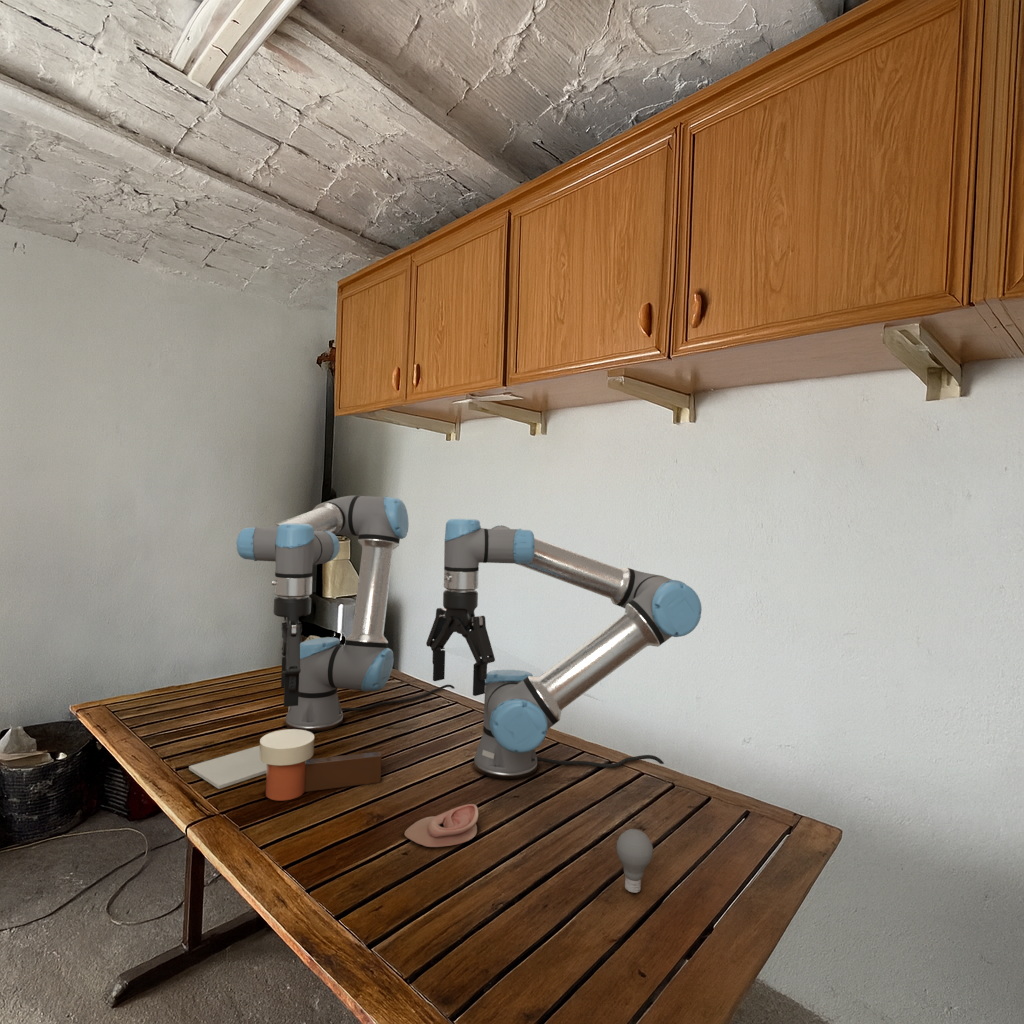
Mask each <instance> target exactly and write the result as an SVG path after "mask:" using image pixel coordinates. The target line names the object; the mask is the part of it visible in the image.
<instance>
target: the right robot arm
mask: <svg viewBox="0 0 1024 1024" xmlns="http://www.w3.org/2000/svg"><path fill="white" fill-rule="evenodd" d="M443 554H444V555H443V556H444V560H443V561H444V563H443V566H444V567H443V588H444V589H445V590H444V591H443V592H442V593H443V594H442V606H443V607H437V608H436V610H435V618H434V620H433V623H432V626H431V629H430V631H429V634H428V636H427V640H426V643H425V645H426V647H430V649H431V651H432V681H433V682H438V681H442V680H445V677H446V675H445V671H446V650H445V646H446V644H447V643H448V641H449V640H450V638H451V636H452V635H453V634H454V633H457V634H460V635H461V636H462V637H463V638H464V639H465V641H466V643H467V645H468V647H469V650H470V652H471V654H472V656H473V659H474V661H475V663H473V671H472V672H473V673H472V679H473V680H472V681H473V682H472V696H474V697H477V696H481V695H484V699H483V700H484V702H483V703H484V704H483V723H482V725H483V727H482V734H481V738H480V740H479V743H478V745H477V749H476V751H475V753H474V759H473V762H474V763H473V766H474V767H473V768H475V770H476V771H477V772H479V773H480V774H481V775H484V776H486V777H490V778H493V779H498V780H499V779H500V780H515V779H516V780H518V779H523V778H526V777H529V776H531V775H533V774H535V773H536V771H537V769H538V762H540V763H547V764H553V765H560V766H574V765H575V766H590V767H597V768H604V769H611V768H612V769H613V768H618V767H621V766H623V765H624V764H626V763H628V762H634V761H640V760H654V761H656V762H657V763H659V764H660V765H664V764H665V763H664V760H662V759H661V758H660V757H658V756H656V755H653V754H642V755H636V756H629V757H626V758H623V759H620V761H618V762H614V763H604V762H603V763H602V762H596V761H588V760H559V759H558V760H557V759H552V758H546V757H539V756H537V753H536V749H537V748H539V746H541V744H542V743H543V742H544V741H545V738H546V736H547V733H548V730H549V729H550V728H552V727H553V726H554V725H556V724H557V723H558V722H560V720H561V717H562V716H561V715H562V712H563V710H564V709H565V708H566V707H568V706H569V705H571V704H572V703H573V702H574V701H576V700H577V699H578V698H580V697H581V696H583V695H584V694H586V692H588V691H589V690H590V689H592V688H593V687H595V686H596V685H597V684H598V683H600V682H601V681H602V680H604V679H605V678H607V677H608V676H609V675H611V674H612V673H613V672H615V671H616V670H617V669H619V667H621V666H622V665H624V664H625V663H626V662H628V661H629V660H631V659H632V658H633V657H635V656H636V655H637V654H638V653H640V652H641V651H643V650H644V649H645V648H647V647H650V646H651V647H660V646H661V645H663V644H664V643H666V642H667V641H668V640H670V639H671V638H672V637H673V638H679V637H685V636H687V635H689V634H691V633H692V632H693V631H694V630H695V629H696V628H697V626H698V625H699V623H700V620H701V618H702V610H703V609H702V602H701V599H700V597H699V595H698V594H697V592H696V591H695V590H694V589H693V588H692V587H691V586H690V585H688V584H687V583H685V582H684V581H681V580H678V579H677V580H676V579H672V578H669V577H666V576H664V575H660V574H655V573H649V572H644V571H640V570H636V569H632V568H630V567H627V566H625V567H622V568H618V567H615V566H613V565H610V564H607V563H604V562H601V561H600V560H598V559H597V560H596V559H593V558H591V557H588V556H585V555H583V554H580V553H578V552H576V551H575V552H574V551H572V550H569V549H566V548H564V547H561V546H559V545H556V544H554V543H551V542H547V541H544V540H542V539H540V538H536V537H535V535H534V533H533V531H532V530H531V529H522V528H510V527H508V526H505V525H495V526H493V527H492V528H485V527H482V526H481V522H480V520H479V519H474V518H450V519H448V520H447V521H446V522H445V530H444V552H443ZM480 563H482V564H487V563H488V564H492V563H493V564H515V565H518V566H520V567H523V568H526V569H529V570H531V571H534V572H537V573H540V574H543V575H545V576H547V577H550V578H553V579H556V580H558V581H562V582H564V583H567V584H569V585H573V586H575V587H577V588H581V589H583V590H585V591H589V592H592V593H594V594H597V595H600V596H602V597H605V598H608V599H609V600H610V601H611V603H612V604H613V605H615V606H617V607H620V608H623V609H624V613H623V614H622V615H621V616H619V617H618V618H617V619H615V620H614V621H613V622H612V623H610V624H608V625H607V626H606V627H605V628H603V629H602V630H600V632H598V633H596V634H595V635H594V636H592V637H591V638H590V639H589V640H587V641H586V642H584V643H583V644H582V645H581V646H579V647H578V648H576V649H575V650H574V651H573V652H571V653H570V654H568V655H567V656H565V657H564V658H562V660H560V661H558V662H557V663H556V664H555V665H553V666H552V667H550V668H549V669H548V670H546V671H545V672H544V673H543V674H541V675H540V676H534V675H533V674H532V672H529V671H525V670H521V669H520V670H519V669H495V670H490V671H488V664H490V663H491V664H492V663H494V662H496V657H495V654H494V650H493V647H492V643H491V640H490V636H489V633H488V630H487V624H486V623H487V622H486V616H485V615H478V616H477V615H476V614H475V610H476V609H477V608H478V603H479V593H478V591H477V589H478V588H479V577H480V575H479V570H480V569H479V566H480Z"/></svg>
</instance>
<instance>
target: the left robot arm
mask: <svg viewBox="0 0 1024 1024" xmlns="http://www.w3.org/2000/svg"><path fill="white" fill-rule="evenodd" d="M408 533H409V514H408V510H407V506H406V504H405V502H404V501H403V500H402V499H400V498H398V497H392V496H387V495H386V496H375V495H374V496H371V495H346V496H345V495H344V496H340V497H337V498H333V499H330V500H327V501H324V502H321V503H318V504H317V505H315V506H314V507H313V509H312V510H309V511H308V512H304V513H302V514H299V515H295V516H293V517H291V518H287V519H284V520H282V521H279V522H277V523H274V524H271V525H268V526H265V527H257V526H254V527H244V528H243V529H242V530H241V531H240V532H239V533H238V535H237V538H236V551H237V553H238V556H240V558H241V559H243V560H247V561H248V560H249V561H254V562H274V563H275V571H274V579H275V580H272V581H271V585H272V586H274V595H275V597H274V599H273V615H274V616H276V617H280V618H283V622H281V638H282V647H281V651H282V652H281V655H282V657H281V675H280V677H281V679H280V687H281V688H284V690H283V707H284V708H285V707H288V708H287V709H288V711H287V713H286V715H285V726H286V728H287V729H299V730H306V731H309V732H311V733H316V732H325V731H329V730H332V729H335V728H337V727H339V726H340V725H342V723H343V722H344V714H343V712H347V711H349V712H351V711H352V712H360V711H366V710H370V709H373V708H375V707H379V706H385V705H390V704H398V703H404V702H410V701H414V700H418V699H420V698H423V697H426V696H428V695H431V694H433V693H435V692H438V691H441V690H443V689H445V688H451V689H452V690H454V689H455V688H456V687H455V686H454V685H452V684H444V685H442V686H439V687H437V688H434V689H432V690H429V691H428V692H424V693H422V694H419V695H416V696H412V697H411V696H410V697H407V698H402V699H396V700H395V699H394V700H387V701H382V702H378V703H374V704H371V705H367V706H363V707H342V706H341V702H340V699H339V695H338V689H342V690H343V689H344V690H351V691H353V690H354V691H362V692H365V693H366V692H379V691H381V690H382V689H383V688H384V687H385V686H386V685H387V683H388V681H389V679H390V677H391V675H392V671H393V668H394V661H395V657H394V652H393V650H392V649H391V648H389V647H388V646H389V641H388V640H387V638H386V637H385V634H384V632H385V624H386V616H387V608H388V599H389V590H390V581H391V571H392V563H393V555H394V550H395V549H397V548H398V547H399V546H400V540H403V539H405V538H406V537H407V535H408ZM337 535H340V536H342V535H343V536H355V537H358V538H357V543H359V545H360V546H361V547H362V549H361V556H360V565H359V575H358V580H357V589H356V598H355V605H354V612H353V613H354V614H353V622H352V628H351V633H350V634H349V635H348V636H347V637H346V638H345V640H344V641H345V642H344V644H340V643H341V641H340V639H339V638H338V637H334V636H331V637H330V636H326V637H327V638H325V637H320V638H317V639H312V640H307V641H305V640H304V641H302V633H303V624H302V622H301V621H300V620H299V618H300V617H306V616H309V615H310V614H311V613H312V597H311V595H312V594H313V567H314V566H315V565H320V564H321V565H325V564H327V563H328V562H332V561H333V560H334V559H336V558H337V556H338V555H339V553H340V549H341V544H340V540H339V538H338V536H337Z"/></svg>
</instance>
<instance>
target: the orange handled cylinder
mask: <svg viewBox="0 0 1024 1024" xmlns="http://www.w3.org/2000/svg"><path fill="white" fill-rule="evenodd" d="M381 778H382V753H381V752H380V751H371V752H364V753H355V754H354V753H353V754H346V755H335V756H326V757H319V758H317V757H316V758H310V759H308V760H306V761H304V762H301V763H297V764H292V765H282V766H279V765H269V764H267V768H266V774H265V797H266V798H268V799H269V800H272V801H277V802H281V801H282V802H283V801H290V800H294V799H297V798H299V797H301V796H302V795H303V794H305V793H306V792H307V793H308V792H315V791H316V792H317V791H322V790H330V789H331V790H332V789H339V788H346V787H354V786H361V785H362V786H363V785H369V784H376V783H381V781H382V780H381Z"/></svg>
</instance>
